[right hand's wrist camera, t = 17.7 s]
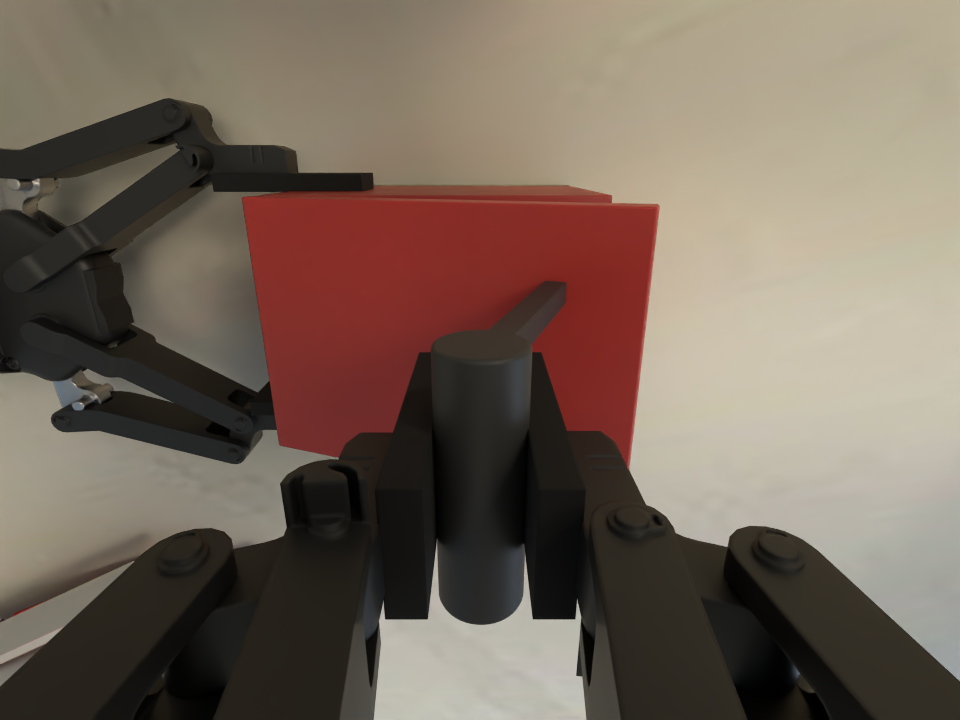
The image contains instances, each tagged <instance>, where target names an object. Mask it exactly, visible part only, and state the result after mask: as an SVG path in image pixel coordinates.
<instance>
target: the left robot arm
mask: <svg viewBox="0 0 960 720" xmlns="http://www.w3.org/2000/svg"><path fill="white" fill-rule="evenodd" d="M212 121H213V120H212V116H211V114H210V112H209V111H208V110H207V109H206V108H205V107H204V106H201V105H197V104H193V103H188V102H184V101H179V100H175V99H170V98H168V99H162V100H160V101H157V102H154V103H151V104H148V105H146V106H143V107H140V108H137V109H134V110H132V111H129V112H126V113H123V114H120V115H118V116H115V117H112V118H109V119H106V120H104V121H101V122H98V123H95V124H92V125H89V126H87V127H84V128H81V129H78V130H75V131H73V132H70V133H67V134H64V135H61V136H59V137H56V138H53V139H50V140H47V141H45V142H42V143H39V144H36V145H33V146H31V147H28V148H25V149H0V209H1V211H0V373H16V372H26V373H30V374H33V375H36V376H38V377H41V378H43V379H45V380H49V381H53V384H54V386H55V389H56V392H57V395H58V397H59V400H60V403H61V406H62V409H60V410H58V411H57V412H55V413H54V414H53V415H52V417H51V422H52V424H53V426H54V427H55V428H56V429H58V430H60V431H62V432H81V431H102V432H106V433H110V434H115V435H119V436H123V437H127V438H131V439H135V440H139V441H143V442H147V443H151V444H155V445H159V446H163V447H167V448H171V449H175V450H179V451H183V452H187V453H191V454H195V455H199V456H203V457H207V458H211V459H215V460H219V461H223V462H227V463H231V464H239V463H241V462H243V461H244V460H245V458H246V457H247V456H248V454H249V453H250V452H251V451H252V449H253V448H254V447H255V446H256V444H257V443H258V442H259V441H260V439H261V438H262V435H263V434H262V430H277V426H276V420H275V413H274V406H273V400H272V393H271V387H270V381H269V382H268V383H267V384H266V385H265V386H264V387H263V388H262V389H261V390H260V391H259V392H258V393H257V392H255V391H253V390H251V389H249V388H247V387H245V386H243V385H241V384H239V383H237V382H235V381H233V380H231V379H229V378H227V377H225V376H223V375H221V374H219V373H217V372H215V371H213V370H211V369H209V368H207V367H205V366H203V365H201V364H199V363H197V362H195V361H193V360H191V359H189V358H187V357H185V356H183V355H181V354H179V353H177V352H175V351H173V350H171V349H169V348H167V347H165V346H163V345H161V344H159V343H157V342H156V341H155V337H154V336H153V335H151V334H150V333H147V332H145V331H143V330H141V329H139V328H137V327H135V326H133V325H131V323H133V322H134V320H133V316H132V311H131V308H130V306H129V304H128V302H127V300H126V298H125V296H124V294H123V274H122V270H121V265H120V263H114V261H113V260H112V258H111V256H112V255H114V254H115V253H116V252H118V251H119V250H121V249H122V248H124V247H125V246H127V245H128V244H129V243H131V242H132V241H133V238H134V237H135V236H137V235H138V234H140V233H141V232H142V231H144V230H145V229H147V228H148V227H150V226H151V225H153V224H154V223H155V222H157V221H158V220H160V219H161V218H163V217H164V216H166V215H167V214H168V213H170V212H171V211H173V210H174V209H176V208H177V207H179V206H180V205H181V204H183V203H184V202H186V201H187V200H189V199H190V198H191V197H193V196H194V195H196V194H197V193H199V192H200V191H202V190H203V189H204V188H206V187H207V186H209V185H210V184H213V190H214V192H288V191H366V190H371V189H374V186H373V173H298V166H297V157H296V151H294V150H292V149H289V148H287V147H285V146H275V145H226V144H225V143H223V142H222V141H221V140H220V139H219V138H218V137H217V135H216V133H215V131H214V129H213V127H212ZM174 143H177V144H178V145H177V146H176V148H177V149H180V151H179V152H177V153H176V154H174V155H173V156H172V157H170V158H169V159H167V160H166V161H165V162H163V163H162V164H160V165H159V166H158V167H156V168H155V169H154V170H152V171H151V172H149V173H148V174H147V175H145V176H144V177H142V178H141V179H140V180H138V181H137V182H135V183H134V184H133V185H131V186H130V187H128V188H127V189H126V190H124V191H123V192H121V193H120V194H119V195H117V196H116V197H115V198H113V199H112V200H110V201H109V202H108V203H106V204H105V205H103V206H102V207H101V208H99V209H98V210H96V211H95V212H94V213H92V214H91V215H89V216H88V217H87V218H85V219H84V220H82V221H81V222H79V223H76V224H74V225H71V226H69V227H67V226H65V225H64V224H62V223H60V222H59V221H57V220H55V219H54V218H52V217H51V216H49V215H47V214H46V213H44V212H42V211H40V210H38V207H37V205H38V201H39V200H40V199H41V198H42V197H45V196H49V195H51V194H52V193H53V192H54V190H55V189H56V188H58V187H59V185H60V182H59V180H58V179H57V178H70V177H77V176H80V175H84V174H87V173H90V172H93V171H96V170H99V169H102V168H104V167H107V166H110V165H113V164H116V163H119V162H122V161H125V160H128V159H130V158H133V157H136V156H139V155H142V154H145V153H148V152H151V151H154V150H156V149H159V148H162V147H165V146H168V145H171V144H174ZM115 345H118V346H116V347H114V346H115ZM87 368H88V369H90V370H92V371H94V372H96V373H98V374H100V375H103V376H105V377H120V378H123V379H125V380H127V381H130V382H132V383H134V384H136V385H138V386H140V387H142V388H144V389H146V390H148V391H151V392H153V393H155V394H157V395H159V396H161V397H163V398H165V399H167V400H169V401H171V402H168V401H164V400H160V399H156V398H152V397H149V396H145V395H141V394H137V393H132V392H124V391H113V387H112V385H110V384H108V383H106V384H103V385H102V384H98V383H94V382H91V381H90V380H88V379H87V378H86V377H85V375H84V373H83V371H85V370H86V369H87ZM172 402H174V403H172Z"/></svg>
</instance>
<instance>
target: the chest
mask: <svg viewBox="0 0 960 720" xmlns="http://www.w3.org/2000/svg"><path fill="white" fill-rule="evenodd" d="M373 186H374V189H371V190H366V191H288V192H281V193H273V194H266V195H268V196H312V197H357V198H402V199H447V200H492V201H537V202H582V203H612V196H611V195H608V194H603V193H598V192H594V191H589V190H584V189H580V188H575V187H571V186H568V185H373ZM261 196H262V195H261Z"/></svg>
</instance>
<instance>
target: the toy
mask: <svg viewBox="0 0 960 720" xmlns="http://www.w3.org/2000/svg"><path fill="white" fill-rule="evenodd" d="M133 562H134V561H132V562H130V563H128V564H125V565H123V566H121V567H119V568H117V569H115V570H112V571H110V572H108V573H106V574H104V575H102V576H100V577H97V578H95V579H93V580H91V581H89V582H87V583H84V584H82V585H80V586H78V587H76V588H74V589H71V590H69V591H67V592H65V593H63V594H61V595H58V596H56V597H54V598H51V599H49V600H46V601H44V602H42V603H39V604H37V605H34V606H32V607H29V608H27V609H24V610H22V611H19V612H17V613H15V614H14V615H13V616H12V617H11V618H9V619H7V620H4V618H0V686H1V685H2V684H3V683H4V682H5V681H6V680H7V679H8V678H10V677H11V676H12V675H13V674H14V673H15V672H16V671H17V670H18V669H19V668H20V667H21V666H22V665H24V664H25V663H26V662H27V661H28V660H29V659H30V658H31V657H32V656H33V655H34V654H35V653H36V652H38V651H39V650H40V649H41V648H42V647H43V646H44V645H45V644H46V643H47V642H48V641H49V640H50V639H52V638H53V637H54V636H55V635H56V634H57V633H58V632H59V631H60V630H61V629H62V628H63V627H64V626H66V625H67V624H68V623H69V622H70V621H71V620H72V619H73V618H74V617H75V616H76V615H77V614H78V613H80V612H81V611H82V610H83V609H84V608H85V607H86V606H87V605H88V604H89V603H90V602H91V601H92V600H94V599H95V598H96V597H97V596H98V595H99V594H100V593H101V592H102V591H103V590H104V589H105V588H106V587H108V586H109V585H110V584H111V583H112V582H113V581H114V580H115V579H116V578H117V577H118V576H119V575H120V574H122V573H123V572H124V571H125V570H126V569H127V568H128V567H129V566H130V565H131V564H132V563H133Z"/></svg>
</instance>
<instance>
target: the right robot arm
mask: <svg viewBox="0 0 960 720" xmlns="http://www.w3.org/2000/svg"><path fill="white" fill-rule="evenodd" d="M280 486H281V492H282V499H283V505H284V511H285V518H286V524H287V529H286V531H285V534H284V536H282V537H280V538H278V539H275V540H272V541H268V542H265V543H260V544H256V545H251V546H246V547H242V548H237V549H233V544H232V540H231V538H230V537H229V536H228V535H227V534H226V533H225V532H223V531H220V530H216V529H213V528H204V529H192V530H188V531H184V532H180V533H177V534H175V535H172V536H170V537H168V538H166V539H164V540H161V541H159V542H158V543H157V544H155V545H154V546H152V547H151V548H150V549H148V550H147V551H145V552H144V553H143V554H142V555H141V556H140V557H139V558H138V559H137V560H136V561H134V562H133V563H132V564H131V565H130V566H129V567H128V568H127V569H126V570H125V571H124V572H123V573H122V574H120V575H119V576H118V577H117V578H116V579H115V580H114V581H113V582H112V583H111V584H110V585H109V586H108V587H106V588H105V589H104V590H103V591H102V592H101V593H100V594H99V595H98V596H97V597H96V598H95V599H94V600H92V601H91V602H90V603H89V604H88V605H87V606H86V607H85V608H84V609H83V610H82V611H81V612H80V613H78V614H77V615H76V616H75V617H74V618H73V619H72V620H71V621H70V622H69V623H68V624H67V625H66V626H64V627H63V628H62V629H61V630H60V631H59V632H58V633H57V634H56V635H55V636H54V637H53V638H52V639H50V640H49V641H48V642H47V643H46V644H45V645H44V646H43V647H42V648H41V649H40V650H39V651H38V652H36V653H35V654H34V655H33V656H32V657H31V658H30V659H29V660H28V661H27V662H26V663H25V664H24V665H22V666H21V667H20V668H19V669H18V670H17V671H16V672H15V673H14V674H13V675H12V676H11V677H10V678H8V679H7V680H6V681H5V682H4V683H3V684H2V685H1V686H0V720H374V709H375V699H376V688H377V678H378V667H379V657H380V646H381V640H380V629H379V618H380V614H381V609H382V605H383V600H384V610H385V619H428V612H429V604H430V595H431V586H432V577H433V569H434V560H435V551H436V543H437V520H436V491H435V462H434V433H433V405H432V376H431V352H419V354H418V357H417V360H416V363H415V366H414V369H413V372H412V376H411V379H410V382H409V385H408V388H407V391H406V394H405V397H404V400H403V403H402V406H401V409H400V412H399V415H398V419H397V422H396V425H395V428H394V431H393V432H360V433H359V434H357V435H356V436H355V437H354V438H352V439H351V440H350V441H348V442H347V443H346V444H345V446H344V448H343V450H342V452H341V454H340V456H339V460H335V459H329V460H322V461H316V462H312V463H309V464H306V465H304V466H301V467H299V468H297V469H296V470H294V471H292V472H291V473H289V474H288V475H287V476H286V477H285V478H284V480H283V481H282V482H281V483H280ZM524 547H525V555H526V564H527V573H528V581H529V590H530V599H531V607H532V616H533V619H575V617H576V605H577V599H578V604H579V608H580V613H581V629H580V640H579V651H578V662H577V674H576V676H582V677H583V687H584V698H585V708H586V719H587V720H960V681H959V680H958V679H956V678H955V677H954V676H953V675H952V674H951V673H950V672H949V671H948V670H947V669H946V668H945V667H943V666H942V665H941V664H940V663H939V662H938V661H937V660H936V659H935V658H934V657H933V656H932V655H930V654H929V653H928V652H927V651H926V650H925V649H924V648H923V647H922V646H921V645H920V644H918V643H917V642H916V641H915V640H914V639H913V638H912V637H911V636H910V635H909V634H908V633H907V632H905V631H904V630H903V629H902V628H901V627H900V626H899V625H898V624H897V623H896V622H895V621H894V620H892V619H891V618H890V617H889V616H888V615H887V614H886V613H885V612H884V611H883V610H882V609H880V608H879V607H878V606H877V605H876V604H875V603H874V602H873V601H872V600H871V599H870V598H869V597H867V596H866V595H865V594H864V593H863V592H862V591H861V590H860V589H859V588H858V587H857V586H856V585H854V584H853V583H852V582H851V581H850V580H849V579H848V578H847V577H846V576H845V575H844V574H842V573H841V572H840V571H839V570H838V569H837V568H836V567H835V566H834V565H833V564H832V563H831V562H829V561H828V560H827V559H826V558H825V557H824V556H823V555H822V554H821V553H820V552H819V551H818V550H816V549H815V548H814V547H812V546H811V545H809V544H808V543H807V542H805V541H804V540H802V539H800V538H798V537H796V536H794V535H792V534H789V533H787V532H785V531H782V530H778V529H774V528H770V527H763V526H748V527H744V528H741V529H737V530H736V531H735V532H734V533H733V534H732V535H731V536H730V538H729V543H728V547H724V546H720V545H715V544H710V543H706V542H701V541H697V540H693V539H690V538H686V537H683V536H681V535H679V534H676V533H675V530H674V528H673V526H672V525H671V523H670V522H669V520H668V519H667V517H666V516H664V515H663V514H662V513H660V512H659V511H657V510H656V509H655V508H652V507H650V506H647V505H646V504H645V502H644V500H643V498H642V496H641V494H640V492H639V490H638V487H637V485H636V483H635V481H634V479H633V477H632V475H631V473H630V471H629V469H627V465H626V463H625V461H624V459H623V458H622V455H621V453H620V451H619V449H618V446H617V444H616V442H615V441H613V440H612V439H611V438H609V437H608V436H607V435H605V434H604V433H603V432H602V431H567V429H566V426H565V423H564V420H563V417H562V414H561V411H560V408H559V405H558V401H557V398H556V395H555V392H554V389H553V386H552V383H551V380H550V377H549V374H548V371H547V368H546V365H545V362H544V359H543V355H542V352H532V374H531V401H530V425H529V429H528V449H527V477H526V504H525V532H524Z"/></svg>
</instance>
